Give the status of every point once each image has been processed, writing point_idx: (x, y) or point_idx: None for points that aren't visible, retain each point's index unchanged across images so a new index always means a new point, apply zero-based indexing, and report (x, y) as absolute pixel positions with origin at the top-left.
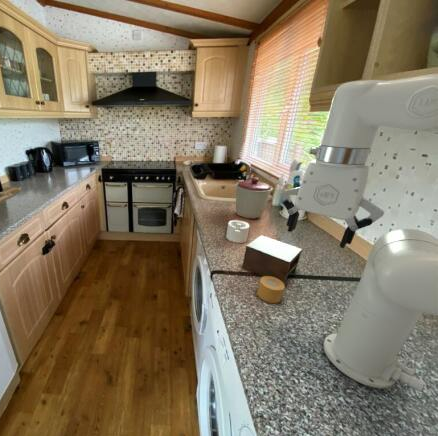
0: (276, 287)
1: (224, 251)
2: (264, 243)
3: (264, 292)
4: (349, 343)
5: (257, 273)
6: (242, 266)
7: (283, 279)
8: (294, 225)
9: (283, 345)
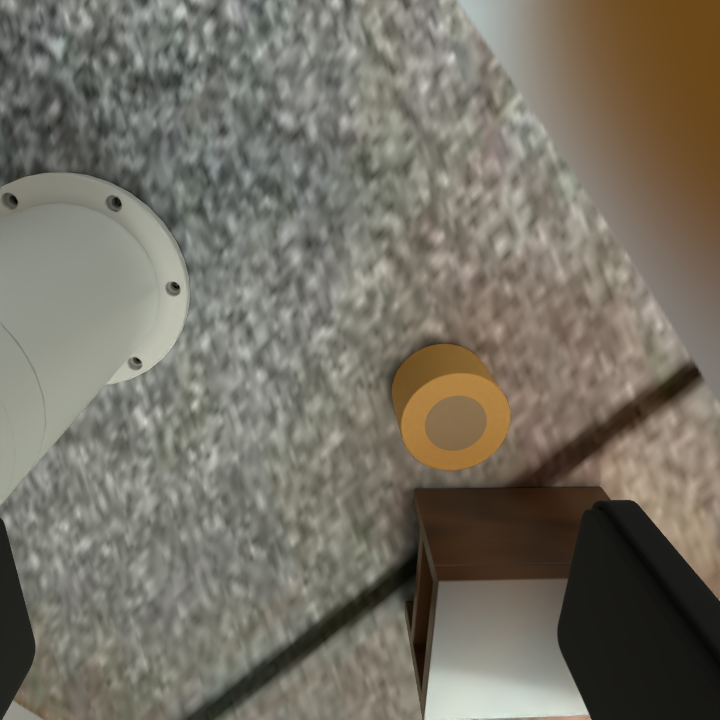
0: (429, 403)
1: (712, 541)
2: None
3: (461, 359)
4: (67, 232)
5: (529, 490)
6: (602, 490)
7: (425, 508)
8: (602, 628)
9: (293, 143)
